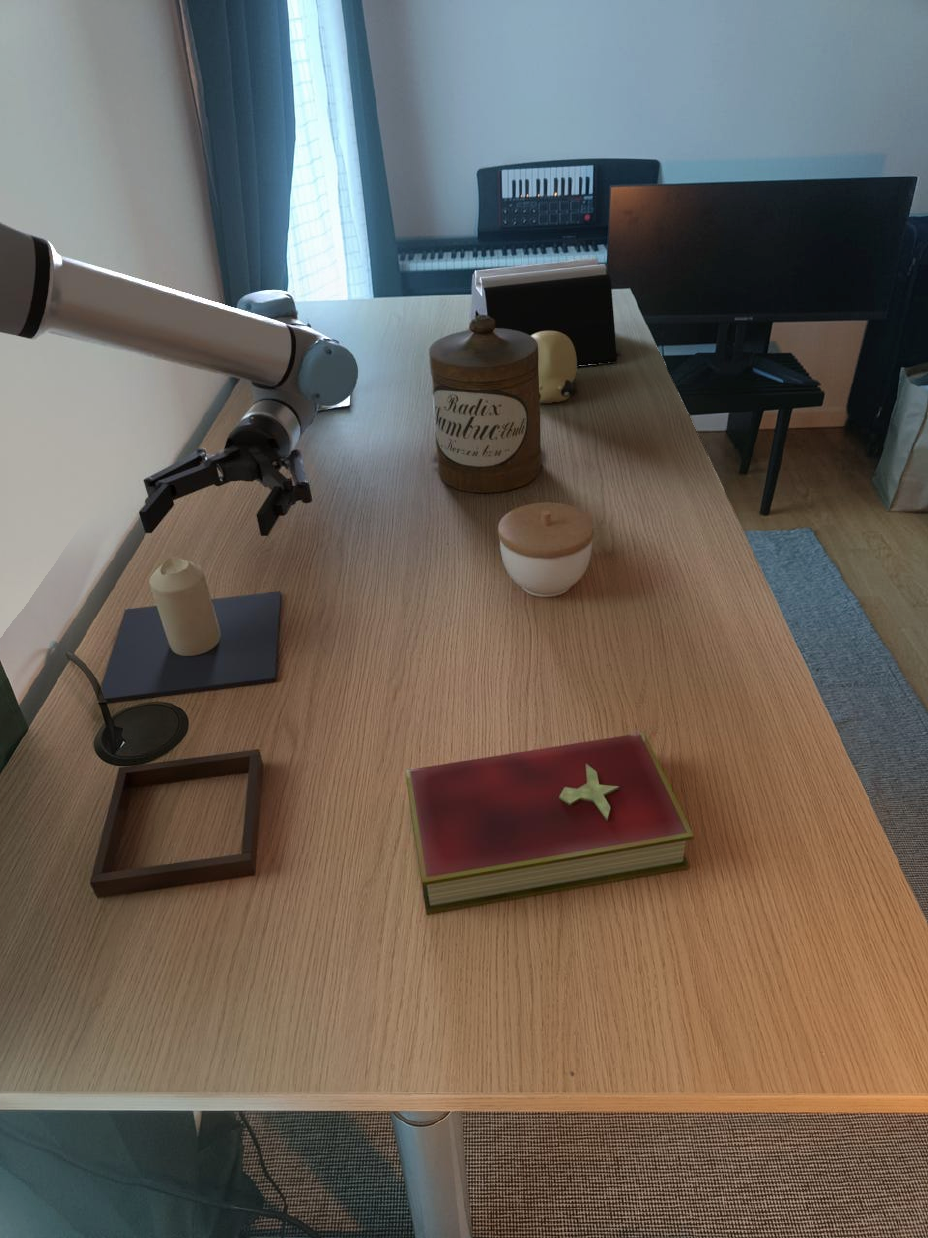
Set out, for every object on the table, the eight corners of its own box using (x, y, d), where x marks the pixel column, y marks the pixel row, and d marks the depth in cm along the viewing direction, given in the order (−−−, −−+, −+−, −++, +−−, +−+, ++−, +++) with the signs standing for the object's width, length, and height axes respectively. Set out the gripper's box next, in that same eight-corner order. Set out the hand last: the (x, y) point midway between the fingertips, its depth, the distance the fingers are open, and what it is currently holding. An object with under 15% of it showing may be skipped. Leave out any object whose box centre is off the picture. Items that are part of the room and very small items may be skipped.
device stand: (470, 338, 172) (466, 258, 163) (580, 325, 174) (582, 246, 165) (494, 378, 154) (491, 291, 145) (616, 364, 156) (621, 277, 147)
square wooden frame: (96, 898, 70) (89, 882, 68) (124, 782, 80) (118, 767, 78) (255, 875, 71) (250, 859, 69) (263, 764, 81) (259, 748, 79)
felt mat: (98, 704, 89) (96, 700, 88) (126, 613, 101) (125, 609, 101) (276, 681, 90) (275, 677, 90) (281, 594, 103) (280, 590, 102)
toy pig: (520, 416, 149) (520, 394, 138) (515, 348, 150) (515, 322, 139) (578, 411, 148) (582, 389, 138) (573, 343, 149) (577, 316, 139)
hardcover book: (408, 798, 76) (404, 764, 74) (639, 760, 78) (643, 726, 76) (426, 914, 67) (421, 880, 64) (688, 868, 69) (694, 833, 66)
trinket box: (590, 611, 97) (592, 539, 91) (494, 606, 99) (491, 535, 93) (593, 559, 105) (596, 490, 100) (505, 555, 107) (504, 487, 101)
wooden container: (424, 488, 122) (409, 332, 109) (455, 443, 133) (446, 296, 120) (526, 499, 118) (524, 338, 105) (550, 451, 129) (551, 300, 116)
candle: (167, 633, 97) (143, 557, 91) (217, 621, 98) (196, 545, 92) (172, 662, 93) (147, 584, 87) (224, 648, 94) (203, 571, 88)
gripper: (359, 468, 114) (317, 555, 97) (179, 465, 117) (107, 549, 100) (352, 414, 109) (306, 495, 92) (165, 413, 113) (87, 491, 96)
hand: (202, 524), depth 96 cm, fingers open, 13 cm apart
